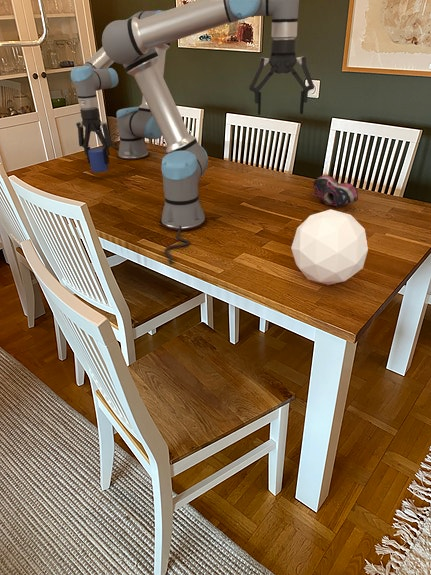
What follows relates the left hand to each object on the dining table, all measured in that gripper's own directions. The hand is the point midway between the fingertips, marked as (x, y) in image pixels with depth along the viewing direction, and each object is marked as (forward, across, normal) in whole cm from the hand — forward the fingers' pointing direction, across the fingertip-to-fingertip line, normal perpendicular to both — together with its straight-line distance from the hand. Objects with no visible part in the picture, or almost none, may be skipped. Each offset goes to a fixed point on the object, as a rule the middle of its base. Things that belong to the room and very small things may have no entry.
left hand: (98, 162), depth 196 cm
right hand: (-27, +82, -22) cm, 89 cm away
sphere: (+7, +103, -66) cm, 122 cm away
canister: (+3, 0, 0) cm, 3 cm away
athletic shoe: (+7, +101, -10) cm, 102 cm away
